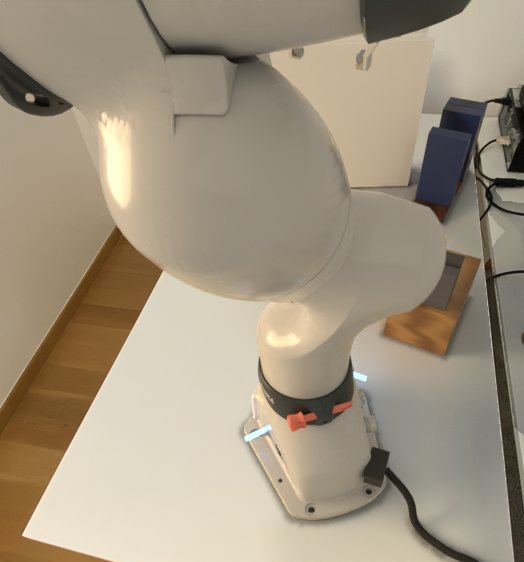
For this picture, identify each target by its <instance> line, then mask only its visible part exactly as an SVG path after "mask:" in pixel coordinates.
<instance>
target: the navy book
mask: <svg viewBox="0 0 524 562" xmlns="http://www.w3.org/2000/svg"><path fill="white" fill-rule="evenodd" d="M471 136H472V134H469V133H464V132H459V131H454V130H449V129H443V128H439V126H432V127H431V128H430V130H429V131H428V134H427V139H426V143H425V149H424V154H423V159H422V163H421V169H420V173H419V179H418V183H417V187H416V192H415V198H416V199H420V200H424V201H428V202H432V203H436V204H440V205H444V206H448V207H450V206H451V204H452V202H453V200H454V197H455V193H456V190H457V186H458V183H459V179H460V175H461V172H462V168H463V165H464V161H465V158H466V154H467V150H468V147H469V143H470V140H471ZM415 198H414V199H415ZM454 201H455V200H454ZM453 203H454V202H453ZM452 205H453V204H452ZM451 207H452V206H451Z"/></svg>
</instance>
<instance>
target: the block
mask: <svg viewBox="0 0 524 562" xmlns="http://www.w3.org/2000/svg"><path fill="white" fill-rule="evenodd" d="M429 28H430V26H429V27H427V28H424V29H421V30H418V31H415V32H412V33H408V34H405V35H402V36H401V37H395V38H391V39H387V40H383V41H380V42H379V43H378V45H377V46H376V48H375V50H374V51H373V52H372V62H371V66H370V68H369V69H368V70H367V71H365V70H359V69H356V64H357V62H356V55H357V54H358V53H360V51H361V50H367V48H368V46H369V45H370V44H368V43H367V42H366V40H365V38H364V36H363V34H359V35H354V36H350V37H346V38H342V39H337V40H333V41H329V42H325V43H320V44H315V45H310V46H305V47H303V48H304V55H303V57H301V59H292V58H289V50H284V51H279V52H273V53H269V54H270V58H271V63H272V66H273V67H274V68H275V69H277V70H278V71H279V72H280V73H281V74H282V75H283V76H285V77H286V78H287V79H288V80H289V81H290V82H291V83H292V84H293V85H294V86H295V87H296V88H298V90H299V91H300V92H301V93H302V94H303V95H304V96H305V97H306V98H307V100H308V101H309V102H310V103H311V105H312V106H313V107H314V108H315V110H316V111H317V112H318V114H319V115H320V117H321V118H322V119H323V121H324V122H325V124H326V126H327V127H328V129H329V131H330V133H331V134H332V136H333V138H334V140H335V142H336V144H337V147H338V149H339V151H340V154H341V156H342V159H343V162H344V165H345V169H346V172H347V176H348V180H349V184H350V188H370V187H373V188H374V187H408V186H409V183H410V178H411V173H412V172H411V171H412V166H413V160H414V155H415V149H416V144H417V138H418V132H419V129H420V122H421V117H422V112H423V106H424V101H425V95H426V90H427V84H428V80H429V74H430V70H431V63H432V57H433V53H434V47H435V41H436V38H435V37H434V36H431V37H428V33H429Z"/></svg>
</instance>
